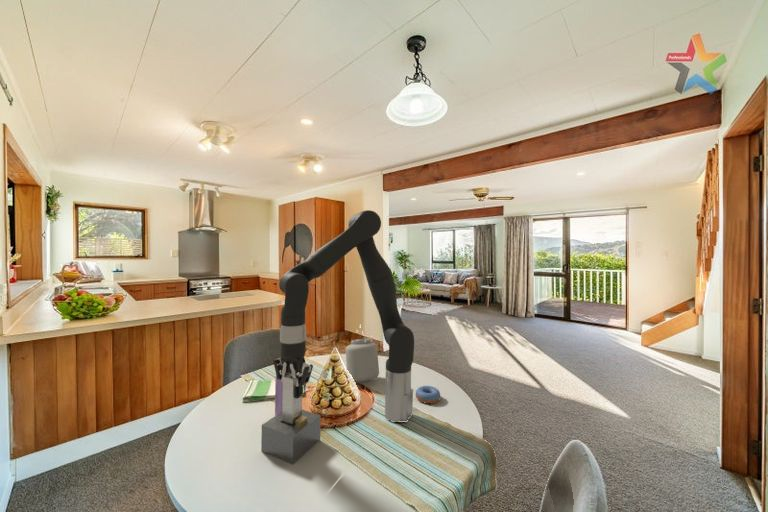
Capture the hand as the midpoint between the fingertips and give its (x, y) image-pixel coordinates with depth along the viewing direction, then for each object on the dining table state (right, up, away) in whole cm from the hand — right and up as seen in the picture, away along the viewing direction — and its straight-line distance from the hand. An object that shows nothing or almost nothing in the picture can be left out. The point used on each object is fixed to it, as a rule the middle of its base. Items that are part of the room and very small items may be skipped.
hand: (292, 395), depth 89 cm
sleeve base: (0, -15, 0) cm, 15 cm away
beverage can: (-9, -15, +17) cm, 25 cm away
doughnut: (+46, -17, +31) cm, 57 cm away
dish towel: (-18, -16, +36) cm, 44 cm away
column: (0, -12, 0) cm, 12 cm away
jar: (+17, -16, +49) cm, 54 cm away
